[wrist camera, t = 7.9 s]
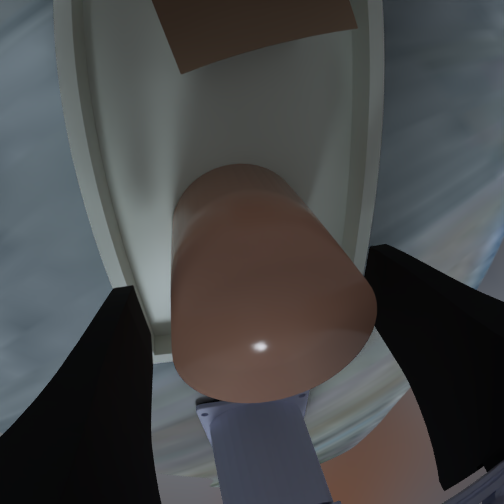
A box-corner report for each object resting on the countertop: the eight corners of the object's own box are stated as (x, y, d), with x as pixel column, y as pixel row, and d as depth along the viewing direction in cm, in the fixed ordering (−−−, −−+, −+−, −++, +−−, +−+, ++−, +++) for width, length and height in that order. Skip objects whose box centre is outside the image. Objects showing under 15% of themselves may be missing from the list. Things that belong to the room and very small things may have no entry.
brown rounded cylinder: (300, 266, 14) (360, 376, 9) (186, 289, 13) (199, 415, 8) (298, 155, 11) (393, 237, 6) (158, 177, 10) (141, 287, 5)
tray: (338, 303, 16) (351, 326, 15) (146, 337, 15) (146, 364, 14) (351, -51, 7) (375, -63, 5) (72, -38, 6) (55, -52, 4)
